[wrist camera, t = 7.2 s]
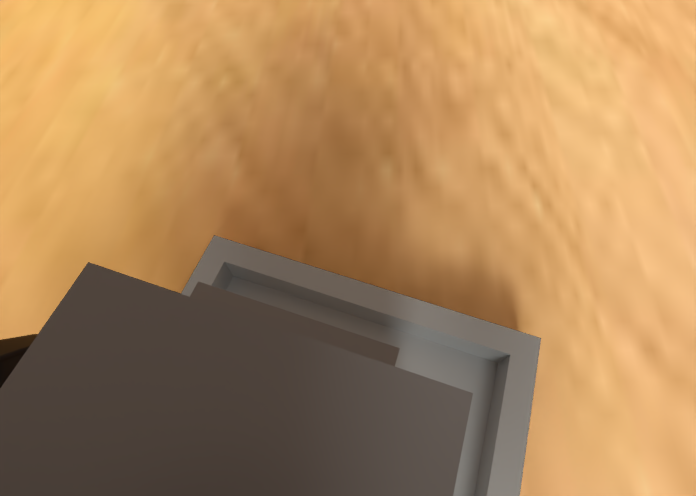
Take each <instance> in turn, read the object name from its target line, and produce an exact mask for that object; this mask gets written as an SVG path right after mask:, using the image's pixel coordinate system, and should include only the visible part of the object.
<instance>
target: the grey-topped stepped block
mask: <svg viewBox="0 0 696 496" xmlns="http://www.w3.org/2000/svg"><path fill="white" fill-rule="evenodd" d="M399 350H400V348H398V347H395V346H392V345H389V344H386V343H382V342H379V341H376V340H373V339H370V338H367V337H364V336H361V335H358V334H355V333H352V332H349V331H346V330H343V329H340V328H337V327H334V326H331V325H328V324H325V323H322V322H319V321H316V320H313V319H310V318H307V317H304V316H301V315H298V314H295V313H292V312H289V311H286V310H283V309H280V308H277V307H274V306H271V305H268V304H265V303H262V302H259V301H256V300H253V299H250V298H247V297H244V296H241V295H238V294H235V293H232V292H229V291H226V290H223V289H220V288H217V287H214V286H211V285H208V284H205V283H202V282H199V281H198V282H197V284H196V286H195V288H194V290H193V292H192V293H191V295H190V297H189V296H186V295H183V294H180V293H177V292H174V291H171V290H168V289H166V288H163V287H160V286H157V285H154V284H151V283H148V282H145V281H142V280H139V279H136V278H133V277H130V276H127V275H124V274H121V273H119V272H116V271H113V270H110V269H107V268H104V267H101V266H98V265H95V264H92V263H89V262H88V264H87V265H86V266H85V268H84V269H83V271H82V272H81V274H80V275H79V276H78V278H77V279H76V281H75V282H74V284H73V285H72V286H71V288H70V289H69V291H68V292H67V294H66V295H65V297H64V298H63V299H62V301H61V302H60V304H59V305H58V307H57V308H56V309H55V311H54V312H53V314H52V315H51V317H50V318H49V319H48V321H47V322H46V324H45V325H44V327H43V328H42V329H41V331H40V332H39V334H38V335H37V337H36V338H35V339H34V341H33V342H32V344H31V345H30V347H29V348H28V349H27V351H26V352H25V354H24V355H23V357H22V358H21V359H20V361H19V362H18V364H17V365H16V367H15V368H14V369H13V371H12V372H11V374H10V375H9V377H8V378H7V380H6V381H5V382H4V384H3V385H2V387H1V388H0V496H453V493H454V488H455V483H456V478H457V473H458V468H459V463H460V458H461V452H462V447H463V442H464V437H465V432H466V427H467V422H468V417H469V411H470V406H471V401H472V396H473V393H471V392H468V391H465V390H462V389H459V388H456V387H453V386H451V385H448V384H445V383H442V382H439V381H436V380H433V379H430V378H427V377H424V376H421V375H418V374H415V373H412V372H409V371H406V370H404V369H401V368H398V367H395V364H396V360H397V357H398V353H399Z"/></svg>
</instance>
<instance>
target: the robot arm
mask: <svg viewBox="0 0 696 496" xmlns="http://www.w3.org/2000/svg"><path fill="white" fill-rule="evenodd" d="M37 335H38V334H32V335H27V336H21V337H15V338H9V339H3V340H0V388H1V387H2V385H3V384H4V382H5V381H6V380H7V378H8V377H9V375H10V374H11V372H12V371H13V369H14V368H15V367H16V365H17V364H18V362H19V361H20V359H21V358H22V357H23V355H24V354H25V352H26V351H27V349H28V348H29V347H30V345H31V344H32V342H33V341H34V339H35V338H36V337H37Z"/></svg>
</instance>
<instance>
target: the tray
mask: <svg viewBox="0 0 696 496" xmlns="http://www.w3.org/2000/svg"><path fill="white" fill-rule="evenodd" d="M198 281H199V282H202V283H205V284H208V285H211V286H214V287H217V288H220V289H223V290H226V291H229V292H232V293H235V294H238V295H241V296H244V297H247V298H250V299H253V300H256V301H259V302H262V303H265V304H268V305H271V306H274V307H277V308H280V309H283V310H286V311H289V312H292V313H295V314H298V315H301V316H304V317H307V318H310V319H313V320H316V321H319V322H322V323H325V324H328V325H331V326H334V327H337V328H340V329H343V330H346V331H349V332H352V333H355V334H358V335H361V336H364V337H367V338H370V339H373V340H376V341H379V342H382V343H386V344H389V345H392V346H395V347H398V348H400V350H399V353H398V357H397V360H396V364H395V367H398V368H401V369H404V370H406V371H409V372H412V373H415V374H418V375H421V376H424V377H427V378H430V379H433V380H436V381H439V382H442V383H445V384H448V385H451V386H453V387H456V388H459V389H462V390H465V391H468V392H471V393H473V396H472V401H471V406H470V411H469V417H468V422H467V427H466V432H465V437H464V442H463V447H462V452H461V458H460V463H459V468H458V473H457V478H456V483H455V488H454V493H453V496H520V489H521V481H522V474H523V467H524V459H525V452H526V445H527V437H528V430H529V422H530V415H531V408H532V400H533V393H534V386H535V378H536V371H537V364H538V356H539V349H540V341H541V338H539V337H536V336H532V335H529V334H526V333H523V332H520V331H517V330H513V329H510V328H507V327H504V326H501V325H497V324H494V323H491V322H488V321H485V320H482V319H478V318H475V317H472V316H469V315H466V314H463V313H459V312H456V311H453V310H450V309H447V308H444V307H440V306H437V305H434V304H431V303H428V302H424V301H421V300H418V299H415V298H412V297H409V296H405V295H402V294H399V293H396V292H393V291H390V290H386V289H383V288H380V287H377V286H374V285H371V284H367V283H364V282H361V281H358V280H355V279H351V278H348V277H345V276H342V275H339V274H336V273H332V272H329V271H326V270H323V269H320V268H317V267H313V266H310V265H307V264H304V263H301V262H298V261H294V260H291V259H288V258H285V257H282V256H278V255H275V254H272V253H269V252H266V251H263V250H259V249H256V248H253V247H250V246H247V245H244V244H240V243H237V242H234V241H231V240H228V239H225V238H221V237H218V236H215V235H214V237H213V238H212V240H211V242H210V244H209V245H208V247H207V249H206V251H205V252H204V254H203V256H202V258H201V259H200V261H199V263H198V265H197V266H196V268H195V270H194V272H193V273H192V275H191V277H190V279H189V281H188V282H187V284H186V286H185V288H184V289H183V291H182V293H181V294H183V295H186V296H189V297H190V295H191V293H192V292H193V290H194V288H195V286H196V284H197V282H198Z"/></svg>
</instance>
